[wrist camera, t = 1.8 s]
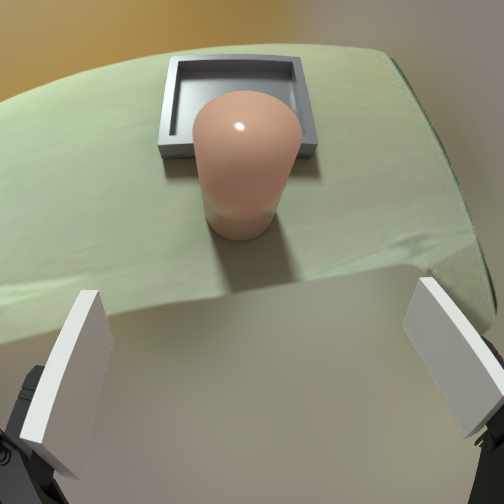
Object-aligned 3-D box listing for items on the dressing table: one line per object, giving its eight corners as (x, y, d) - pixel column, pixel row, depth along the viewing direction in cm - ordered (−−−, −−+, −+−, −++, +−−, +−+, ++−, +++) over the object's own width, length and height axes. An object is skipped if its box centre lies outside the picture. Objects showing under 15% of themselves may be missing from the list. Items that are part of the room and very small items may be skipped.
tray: (161, 158, 30) (157, 145, 28) (172, 71, 33) (170, 56, 31) (311, 157, 31) (317, 144, 29) (296, 71, 35) (299, 57, 32)
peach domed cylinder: (190, 208, 29) (169, 131, 17) (237, 164, 30) (244, 76, 19) (241, 255, 28) (251, 199, 17) (288, 206, 30) (322, 131, 18)
